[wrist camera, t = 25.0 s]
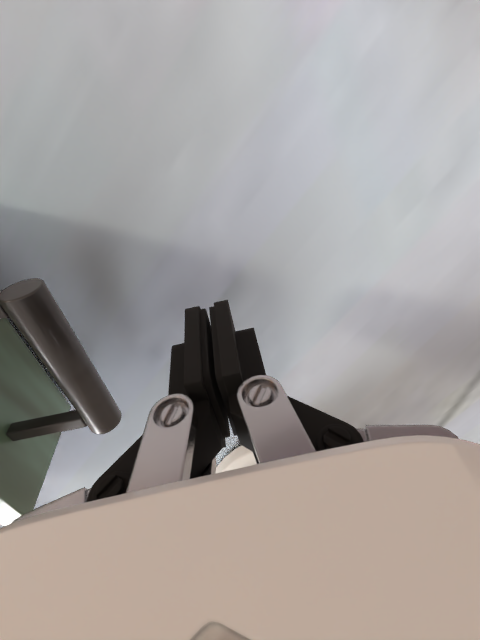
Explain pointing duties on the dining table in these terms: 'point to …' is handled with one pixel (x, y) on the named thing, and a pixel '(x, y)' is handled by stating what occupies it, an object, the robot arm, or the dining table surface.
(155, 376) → the dining table surface
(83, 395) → the drawer
